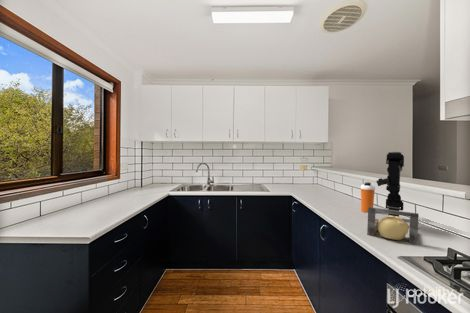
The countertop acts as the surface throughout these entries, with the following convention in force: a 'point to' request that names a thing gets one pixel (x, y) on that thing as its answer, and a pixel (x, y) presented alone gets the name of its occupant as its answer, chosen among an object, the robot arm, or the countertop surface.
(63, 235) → the countertop surface
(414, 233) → the channel
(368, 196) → the shaker bottle
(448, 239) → the countertop surface
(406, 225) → the pale yellow round lump
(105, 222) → the countertop surface
